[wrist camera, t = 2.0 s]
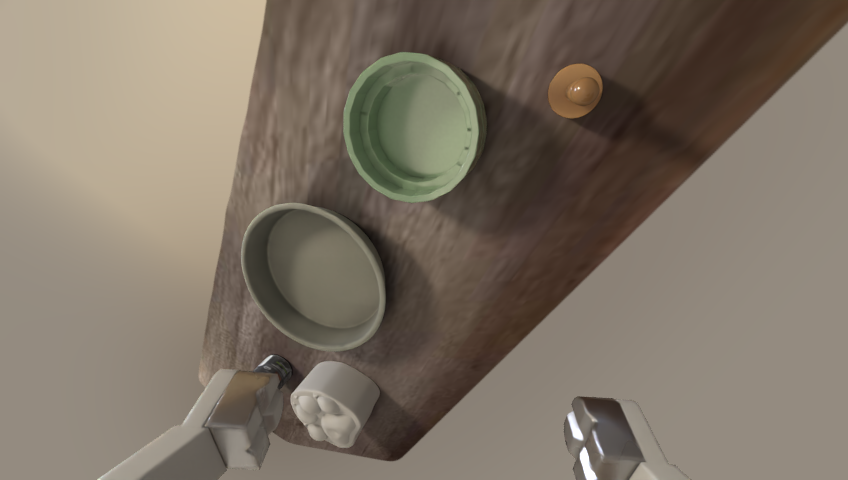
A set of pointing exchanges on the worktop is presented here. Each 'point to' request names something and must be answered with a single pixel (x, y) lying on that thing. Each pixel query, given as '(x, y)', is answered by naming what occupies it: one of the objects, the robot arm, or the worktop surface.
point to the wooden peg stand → (575, 91)
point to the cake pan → (314, 276)
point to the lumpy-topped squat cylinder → (335, 402)
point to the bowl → (414, 126)
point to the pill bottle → (276, 368)
